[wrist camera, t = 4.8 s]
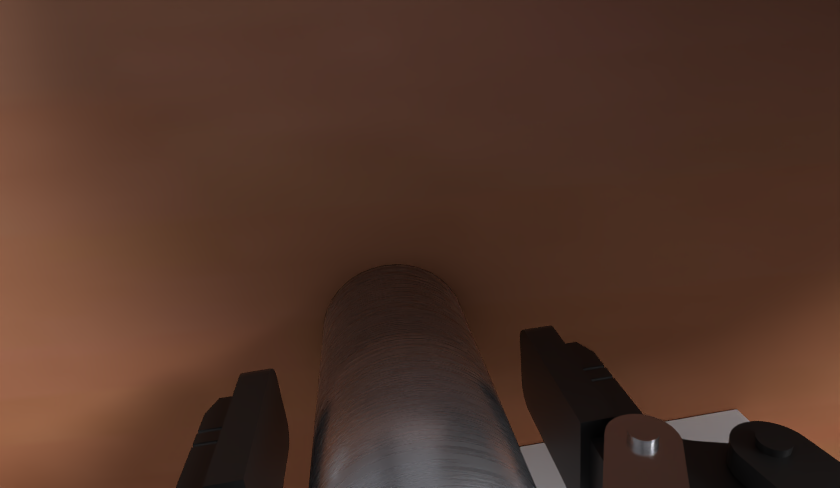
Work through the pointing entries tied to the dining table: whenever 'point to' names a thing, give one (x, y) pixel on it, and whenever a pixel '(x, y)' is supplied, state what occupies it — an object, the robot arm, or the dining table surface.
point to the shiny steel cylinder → (407, 392)
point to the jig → (690, 428)
